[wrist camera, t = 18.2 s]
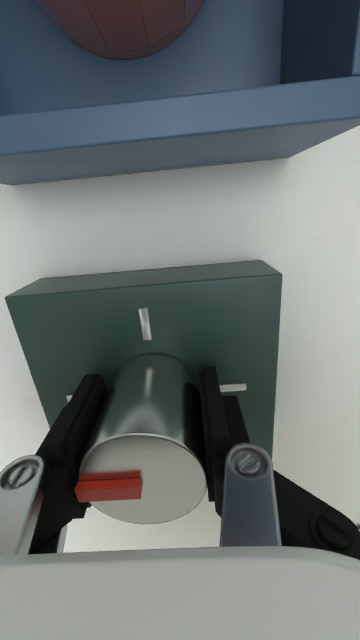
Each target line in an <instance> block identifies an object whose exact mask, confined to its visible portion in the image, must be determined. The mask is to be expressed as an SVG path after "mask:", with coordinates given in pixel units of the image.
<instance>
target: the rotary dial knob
mask: <svg viewBox="0 0 360 640" xmlns="http://www.w3.org/2000/svg"><path fill="white" fill-rule="evenodd" d="M77 474H78V482H77V485H76V487H75V493H76V496H77V499H78V502H89V503H90V504H91V505H93V506H94V507H95V508H96V509H98V510H99V511H100V512H102V513H104V514H106V515H108V516H110V517H112V518H115V519H118V520H121V521H125V522H129V523H135V524H157V523H163V522H168V521H171V520H174V519H177V518H180V517H182V516H184V515H185V514H187V513H189V512H190V511H191V510H193V509H194V508H195V507H196V506H197V505H198V504H199V503H200V501H201V500H202V498H203V496H204V494H205V492H206V488H207V483H208V476H207V467H206V456H205V445H204V434H203V424H202V413H201V402H200V390H199V384H198V381H197V379H196V377H195V375H194V374H193V372H192V371H191V370H190V369H189V368H188V367H187V366H186V365H185V364H184V363H182V362H180V361H179V360H177V359H175V358H172V357H169V356H165V355H159V354H148V355H142V356H139V357H136V358H133V359H131V360H130V361H128V362H126V363H125V364H124V365H123V366H122V367H121V368H119V370H118V371H117V372H116V374H115V376H114V378H113V381H112V383H111V386H110V388H109V391H108V393H107V396H106V398H105V401H104V403H103V406H102V408H101V411H100V413H99V416H98V418H97V421H96V423H95V426H94V428H93V431H92V433H91V436H90V438H89V441H88V443H87V446H86V448H85V451H84V453H83V456H82V458H81V461H80V463H79V466H78V473H77Z"/></svg>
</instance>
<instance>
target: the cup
mask: <svg viewBox="0 0 360 640" xmlns="http://www.w3.org/2000/svg"><path fill="white" fill-rule="evenodd" d="M32 1H33V2H34V3H35V4H36V5H37V6H38V7H39V8H40V9H41V10H42V11H43V13H44V14H45V15H46V17H47V18H48V19H49V20H50V21H51V22H52V24H53V25H54V26H55V27H56V28H57V29H58V30H59V31H60V32H61V33H62V34H64V35H65V36H66V37H67V38H68V39H69V40H71V41H72V42H74V43H75V44H77V45H78V46H80V47H81V48H83V49H85V50H87V51H89V52H92V53H94V54H97V55H100V56H103V57H106V58H113V59H134V58H139V57H144V56H146V55H149V54H152V53H154V52H157V51H158V50H160V49H162V48H163V47H165V46H167V45H168V44H170V43H171V42H172V41H173V40H175V39H176V38H177V37H178V36H179V35H180V34H181V33H182V32H183V31H184V30H185V29H186V28H187V27H188V26H189V24H190V23H191V22H192V20H193V19H194V17H195V16H196V15H197V13H198V12H199V10H200V8H201V6H202V5H203V3H204V1H205V0H32Z"/></svg>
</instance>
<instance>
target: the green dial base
mask: <svg viewBox="0 0 360 640" xmlns="http://www.w3.org/2000/svg"><path fill="white" fill-rule="evenodd" d="M281 289H282V274H281V273H280V272H278V271H277V270H275V269H274V268H272V267H271V266H269V265H268V264H266V263H265V262H263V261H262V260H256V261H244V262H232V263H220V264H209V265H197V266H185V267H173V268H162V269H150V270H138V271H127V272H115V273H103V274H91V275H80V276H68V277H56V278H44V279H39V280H37V281H35V282H33V283H31V284H29V285H27V286H25V287H24V288H22V289H20V290H18V291H16V292H14V293H12V294H10V295H8V296H6V297H5V300H6V303H7V306H8V309H9V312H10V315H11V317H12V320H13V323H14V326H15V329H16V332H17V335H18V338H19V340H20V343H21V346H22V349H23V352H24V355H25V358H26V361H27V363H28V366H29V369H30V372H31V375H32V378H33V381H34V383H35V386H36V389H37V392H38V395H39V398H40V401H41V404H42V406H43V409H44V412H45V415H46V418H47V421H48V424H49V427H50V429H51V427H52V426H53V424H54V422H55V420H56V419H57V417H58V415H59V414H60V412H61V410H62V409H63V408H64V407H65V406H67V404H68V403H69V401H70V399H71V397H72V396H73V394H74V392H75V390H76V389H77V387H78V385H79V384H80V382H81V380H82V378H83V377H84V375H86V374H99V375H100V377H103V378H104V380H105V385H106V389H107V393H108V391H109V388H110V386H111V383H112V381H113V378H114V376H115V374H116V372H117V371H118V370H119V368H121V367H122V366H123V365H124V364H125V363H126V362H128V361H130V360H131V359H133V358H136V357H139V356H142V355H148V354H159V355H165V356H169V357H172V358H175V359H177V360H179V361H180V362H182V363H184V364H185V365H186V366H187V367H188V368H189V369H190V370H191V371H192V372H193V374H194V375H195V377H196V379H197V381H198V384H199V375H198V370H203V367H204V366H215V367H216V372H217V377H218V382H219V387H220V391H221V396H228V395H236V396H237V398H238V401H239V405H240V408H241V412H242V415H243V419H244V422H245V426H246V429H247V433H248V436H249V440H250V443H251V444H255V445H257V446H259V447H261V448H263V449H264V450H265V451H266V452H267V453H268V454H269V456H270V457H271V460H272V448H273V430H274V413H275V395H276V377H277V360H278V342H279V325H280V307H281ZM199 390H200V389H199Z"/></svg>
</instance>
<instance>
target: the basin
mask: <svg viewBox="0 0 360 640" xmlns="http://www.w3.org/2000/svg"><path fill="white" fill-rule="evenodd" d="M358 125H360V0H205V1H204V3H203V5H202V6H201V8H200V10H199V12H198V13H197V15H196V16H195V17H194V19H193V20H192V22H191V23H190V24H189V26H188V27H187V28H186V29H185V30H184V31H183V32H182V33H181V34H180V35H179V36H178V37H177V38H176V39H175V40H173V41H172V42H171V43H170V44H168V45H167V46H165V47H163V48H162V49H160V50H158V51H157V52H154V53H152V54H149V55H146V56H144V57H139V58H134V59H113V58H106V57H103V56H100V55H97V54H94V53H92V52H89V51H87V50H85V49H83V48H81V47H80V46H78V45H77V44H75V43H74V42H72V41H71V40H69V39H68V38H67V37H66V36H65V35H64V34H62V33H61V32H60V31H59V30H58V29H57V28H56V27H55V26H54V25H53V24H52V22H51V21H50V20H49V19H48V18H47V17H46V15H45V14H44V13H43V11H42V10H41V9H40V8H39V7H38V6H37V5H36V4H35V3H34V2H33V1H32V0H0V184H7V185H19V184H29V183H39V182H49V181H59V180H69V179H79V178H89V177H99V176H109V175H119V174H129V173H139V172H149V171H159V170H169V169H179V168H189V167H199V166H209V165H219V164H229V163H239V162H249V161H259V160H269V159H279V158H289V157H291V156H293V155H295V154H297V153H300V152H302V151H304V150H306V149H308V148H310V147H313V146H315V145H317V144H319V143H321V142H324V141H326V140H328V139H330V138H332V137H334V136H337V135H339V134H341V133H343V132H345V131H348V130H350V129H352V128H354V127H356V126H358Z"/></svg>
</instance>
